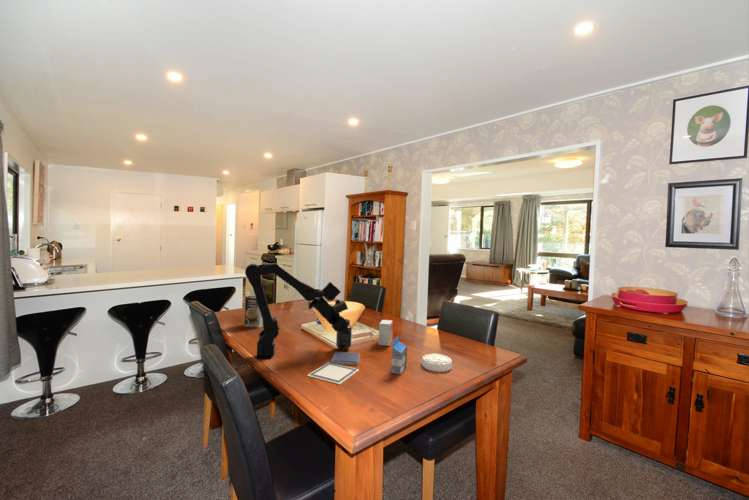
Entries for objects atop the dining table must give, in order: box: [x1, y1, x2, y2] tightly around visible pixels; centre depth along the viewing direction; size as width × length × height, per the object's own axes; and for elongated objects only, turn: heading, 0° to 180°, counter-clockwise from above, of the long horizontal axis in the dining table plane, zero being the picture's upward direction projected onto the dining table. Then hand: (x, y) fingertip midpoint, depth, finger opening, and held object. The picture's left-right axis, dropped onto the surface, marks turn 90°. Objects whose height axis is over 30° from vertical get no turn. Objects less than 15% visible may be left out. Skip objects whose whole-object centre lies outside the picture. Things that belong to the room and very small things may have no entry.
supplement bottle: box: [335, 318, 353, 349], centre depth 149 cm, size 7×7×12 cm
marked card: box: [306, 362, 360, 385], centre depth 123 cm, size 14×14×1 cm
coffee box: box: [244, 295, 263, 329], centre depth 181 cm, size 9×6×16 cm
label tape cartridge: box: [390, 335, 408, 376], centre depth 127 cm, size 9×4×12 cm, turn 160°
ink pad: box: [330, 351, 361, 366], centre depth 136 cm, size 11×11×1 cm
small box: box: [378, 319, 394, 347], centre depth 159 cm, size 8×6×10 cm
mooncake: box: [421, 352, 453, 373], centre depth 133 cm, size 12×12×4 cm
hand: (347, 331), depth 149 cm, fingers closed on supplement bottle, 7 cm apart
